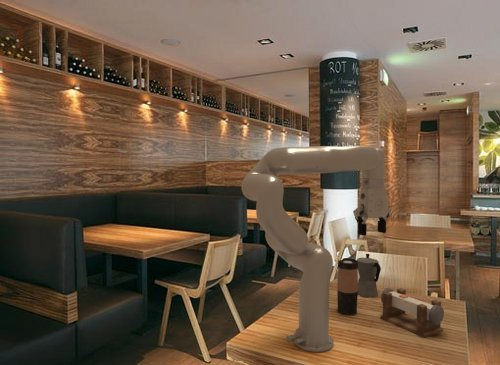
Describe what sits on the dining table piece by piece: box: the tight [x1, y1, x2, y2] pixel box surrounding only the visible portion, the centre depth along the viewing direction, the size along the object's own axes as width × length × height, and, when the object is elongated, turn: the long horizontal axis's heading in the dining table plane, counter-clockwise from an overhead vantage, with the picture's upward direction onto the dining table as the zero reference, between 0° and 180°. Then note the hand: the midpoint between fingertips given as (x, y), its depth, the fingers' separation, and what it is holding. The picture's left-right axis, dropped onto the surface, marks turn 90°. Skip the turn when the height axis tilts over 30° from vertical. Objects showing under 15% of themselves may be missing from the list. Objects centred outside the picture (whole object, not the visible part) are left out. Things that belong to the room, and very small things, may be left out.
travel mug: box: [336, 258, 359, 316], centre depth 145 cm, size 8×8×20 cm
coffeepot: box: [356, 253, 382, 298], centre depth 164 cm, size 15×9×18 cm, turn 17°
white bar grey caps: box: [380, 287, 445, 325], centre depth 134 cm, size 21×6×6 cm, turn 31°
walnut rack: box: [380, 287, 444, 339], centre depth 134 cm, size 18×10×10 cm, turn 31°
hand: (372, 233), depth 129 cm, fingers open, 9 cm apart
